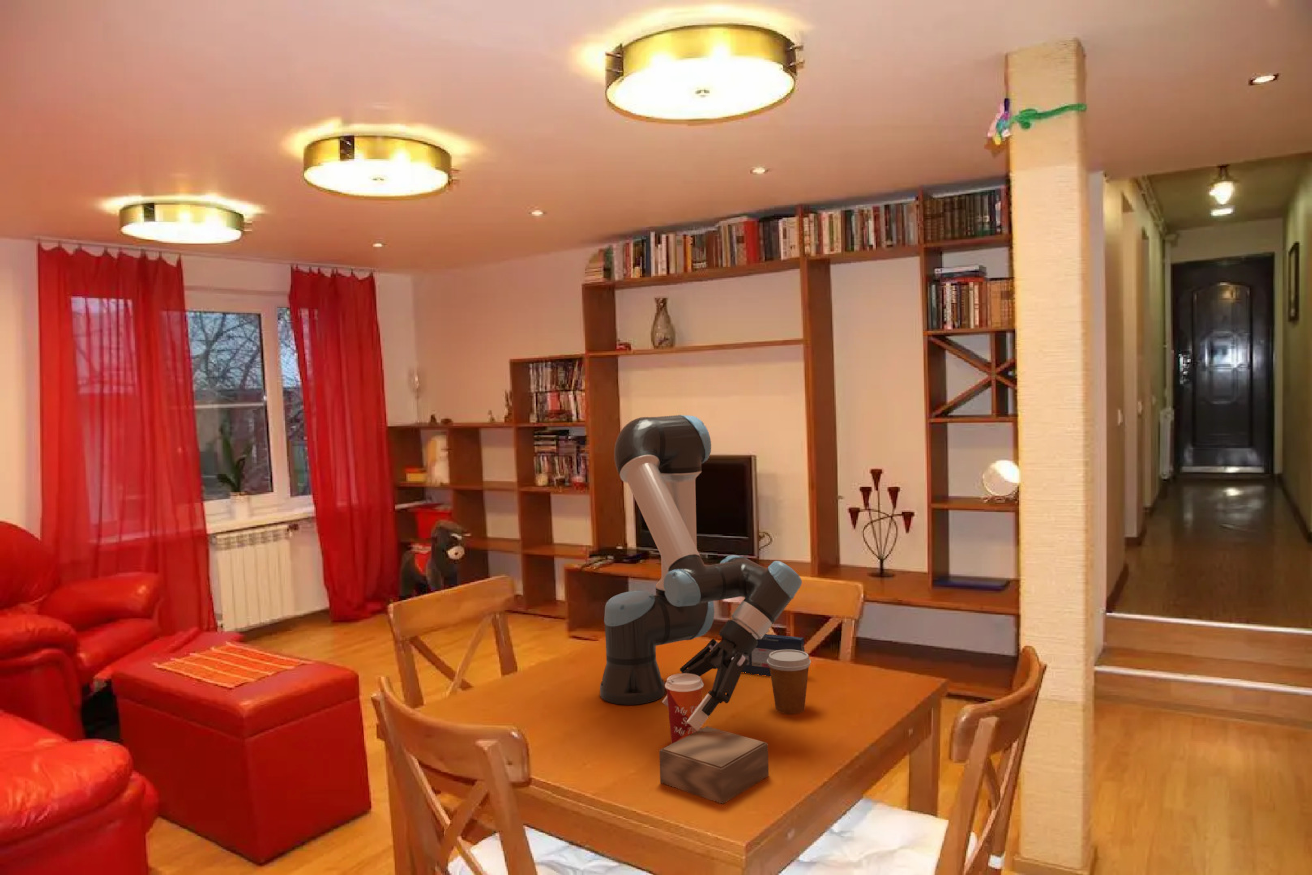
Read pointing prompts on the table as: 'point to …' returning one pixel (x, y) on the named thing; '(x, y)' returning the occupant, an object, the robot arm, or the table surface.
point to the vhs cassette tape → (765, 647)
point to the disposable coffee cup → (789, 679)
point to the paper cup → (682, 703)
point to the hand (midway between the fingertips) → (678, 716)
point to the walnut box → (714, 764)
